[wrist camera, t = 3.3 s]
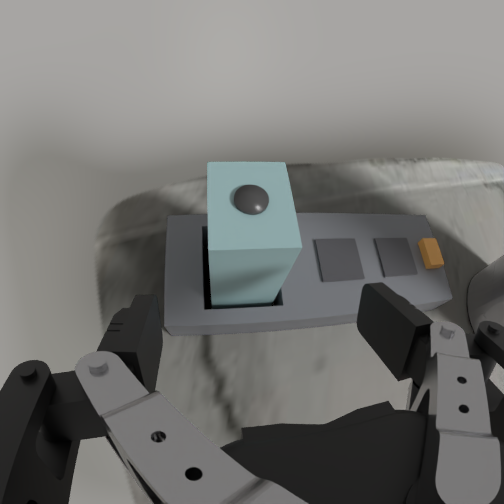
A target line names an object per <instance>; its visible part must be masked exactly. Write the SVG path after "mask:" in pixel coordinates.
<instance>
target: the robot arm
mask: <svg viewBox="0 0 504 504" xmlns="http://www.w3.org/2000/svg"><path fill="white" fill-rule="evenodd" d="M467 304H468V313H469V317H470V322H471V325H472V327H473V330H474V332H475V334H465V332H464V330H463V329H462V328H461V327H460V326H458V325H456V324H454V323H452V322H448V321H436V322H433V321H432V320H431V319H430V318H428V317H427V316H426V315H425V314H424V313H422V312H421V311H420V310H419V309H417V308H416V307H415V306H414V305H413V304H411V303H410V302H409V301H408V300H407V299H405V298H404V297H402V296H400V295H398V294H397V293H395V292H394V291H393V290H392V289H390V288H389V287H388V286H387V285H385V284H384V283H383V282H378V283H367V284H365V285H364V286H363V288H362V292H361V298H360V304H359V309H358V315H357V327H358V330H359V332H360V334H361V335H362V336H363V337H364V339H365V340H366V341H367V342H368V344H369V345H370V346H371V347H372V349H373V350H374V351H375V352H376V354H377V355H378V356H379V357H380V359H381V360H382V361H383V362H384V364H385V365H386V366H387V367H388V369H389V370H390V371H391V373H392V374H393V375H394V376H395V378H396V379H397V380H398V381H401V380H404V379H407V378H412V380H411V383H410V385H409V391H408V398H407V405H406V410H394V408H393V407H392V405H391V404H390V403H389V401H386V402H383V403H379V404H375V405H372V406H368V407H364V408H360V409H357V410H355V411H353V412H350V413H348V414H346V415H344V416H342V417H340V418H338V419H336V420H334V421H331V422H329V423H326V424H320V425H317V424H283V423H281V424H274V425H266V426H256V427H246V428H241V432H242V439H241V440H237V441H234V442H232V443H229V444H227V445H225V446H223V447H221V448H219V447H218V446H217V445H215V444H214V443H213V442H212V441H211V440H210V439H209V438H207V437H206V436H205V435H204V434H203V433H202V432H201V431H200V430H198V429H197V428H196V427H195V426H194V425H193V424H192V423H191V422H190V421H189V420H188V419H187V418H186V417H185V416H184V415H183V414H181V413H180V412H179V411H178V410H177V409H176V408H175V407H174V406H173V405H172V404H171V403H170V402H169V401H168V400H167V399H166V398H165V397H164V396H163V395H162V394H161V393H160V392H159V391H155V387H156V381H157V375H158V369H159V363H160V357H161V352H162V345H163V338H162V329H161V322H160V315H159V308H158V301H157V297H156V295H136V296H135V298H134V300H133V302H132V304H131V307H130V308H122V309H121V310H120V311H119V312H117V313H116V314H115V315H114V316H113V318H112V320H111V322H110V325H109V326H108V328H107V332H105V334H104V337H103V339H102V341H101V343H100V345H99V347H98V349H97V351H96V352H93V353H90V354H87V355H85V356H84V357H82V358H81V359H80V360H79V361H78V362H77V364H76V366H75V371H70V372H63V373H55V374H51V371H50V369H49V367H48V365H47V364H46V363H44V362H42V361H38V360H30V361H26V362H23V363H21V364H19V365H18V366H16V367H15V368H14V369H13V370H12V372H11V373H10V375H9V377H8V379H7V380H6V382H5V384H4V386H3V387H2V389H1V391H0V504H68V502H69V497H70V491H71V485H72V479H73V473H74V468H75V463H76V458H77V454H78V449H79V445H80V440H82V439H90V438H97V437H103V436H105V438H106V440H107V441H108V443H109V444H110V446H111V447H112V449H113V450H114V452H115V453H116V455H117V456H118V458H119V459H120V461H121V462H122V464H123V465H124V466H125V468H126V469H127V471H128V472H129V473H130V475H131V476H132V477H133V479H134V480H135V482H136V483H137V485H138V486H139V487H140V489H141V490H142V492H143V493H144V494H145V495H146V497H147V498H148V499H149V500H150V502H151V503H152V504H504V394H503V393H502V392H501V391H500V390H499V389H498V388H497V387H496V386H495V385H494V384H493V382H492V381H491V380H490V379H489V377H490V375H491V373H492V371H493V369H494V367H495V365H496V363H498V364H499V365H500V366H501V367H502V368H503V369H504V255H503V256H501V257H500V258H499V259H497V260H496V261H494V262H493V263H492V264H490V265H489V266H487V267H486V268H484V269H483V270H481V271H480V272H478V273H477V274H476V275H475V276H474V277H473V279H472V280H471V282H470V285H469V289H468V300H467Z"/></svg>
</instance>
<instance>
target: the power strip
mask: <svg viewBox="0 0 504 504" xmlns="http://www.w3.org/2000/svg"><path fill="white" fill-rule="evenodd" d="M296 216H297V222H298V227H299V232H300V237H301V243H302V249H301V251H300V253H299V255H298V257H297V259H296V260H295V262H294V264H293V266H292V268H291V270H290V272H289V274H288V275H287V277H286V279H285V281H284V283H283V285H282V286H281V288H280V290H279V292H278V294H277V296H276V297H275V299H274V301H273V302H274V306H268V307H251V308H231V309H207V310H205V287H204V247H203V246H208V214H196V215H169V216H168V217H167V233H166V253H165V285H164V327H165V328H166V329H167V331H168V332H169V333H170V334H171V336H182V335H215V334H235V333H252V332H266V331H279V330H291V329H301V328H311V327H320V326H329V325H338V324H346V323H353V322H357V315H358V309H359V304H360V298H361V292H362V288H363V286H364V285H365V284H367V283H378V282H383V283H384V284H385V285H387V286H388V287H389V288H390V289H392V290H393V291H394V292H395V293H397V294H398V295H400V296H402V297H404V298H405V299H407V300H408V301H409V302H410V303H411V304H413V305H414V306H415V307H416V308H417V309H419V310H420V311H421V312H423V311H428V310H433V309H435V308H437V307H438V306H440V305H442V304H444V303H446V302H447V301H449V300H451V299H453V298H452V294H451V290H450V287H449V283H448V280H447V276H446V273H445V270H444V266H443V265H444V261H443V257H442V254H441V251H440V249H439V246H438V243H437V240H436V238H434V237H433V234H432V231H431V229H430V226H429V223H428V221H427V218H426V216H425V215H403V214H368V213H296Z"/></svg>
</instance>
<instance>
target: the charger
mask: <svg viewBox="0 0 504 504" xmlns="http://www.w3.org/2000/svg"><path fill="white" fill-rule="evenodd" d="M207 204H208V253H209V270H210V286H211V301H212V309H231V308H251V307H268V306H271V305H272V303H273V301H274V299H275V297H276V296H277V294H278V292H279V290H280V288H281V286H282V285H283V283H284V281H285V279H286V277H287V275H288V274H289V272H290V270H291V268H292V266H293V264H294V262H295V260H296V259H297V257H298V255H299V253H300V251H301V249H302V243H301V237H300V232H299V227H298V222H297V216H296V211H295V206H294V201H293V196H292V192H291V187H290V182H289V177H288V173H287V168H286V163H285V162H207Z"/></svg>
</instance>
